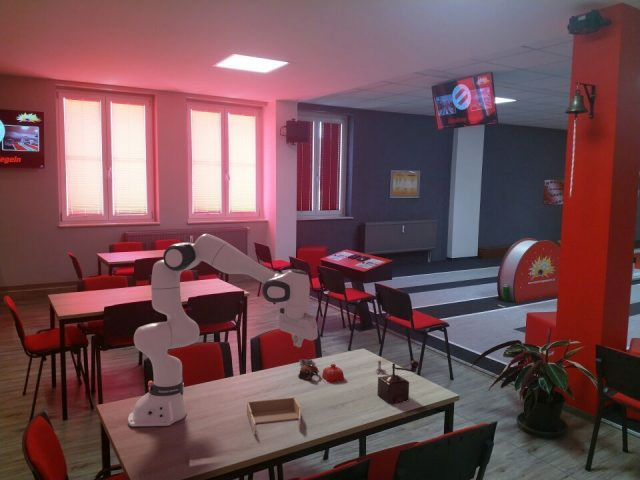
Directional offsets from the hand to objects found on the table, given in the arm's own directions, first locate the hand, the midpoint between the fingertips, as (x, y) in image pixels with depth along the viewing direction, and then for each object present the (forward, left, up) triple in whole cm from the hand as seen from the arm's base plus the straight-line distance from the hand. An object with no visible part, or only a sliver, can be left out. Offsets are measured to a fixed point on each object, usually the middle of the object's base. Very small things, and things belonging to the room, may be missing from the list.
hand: (297, 346), depth 193 cm
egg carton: (+21, +58, -32) cm, 70 cm away
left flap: (-18, +2, -31) cm, 36 cm away
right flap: (+2, +2, -31) cm, 31 cm away
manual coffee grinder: (+49, +12, -31) cm, 59 cm away
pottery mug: (+14, +43, -32) cm, 56 cm away
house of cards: (+54, +40, -32) cm, 75 cm away
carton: (-8, +8, -31) cm, 33 cm away
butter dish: (+27, +40, -32) cm, 58 cm away
